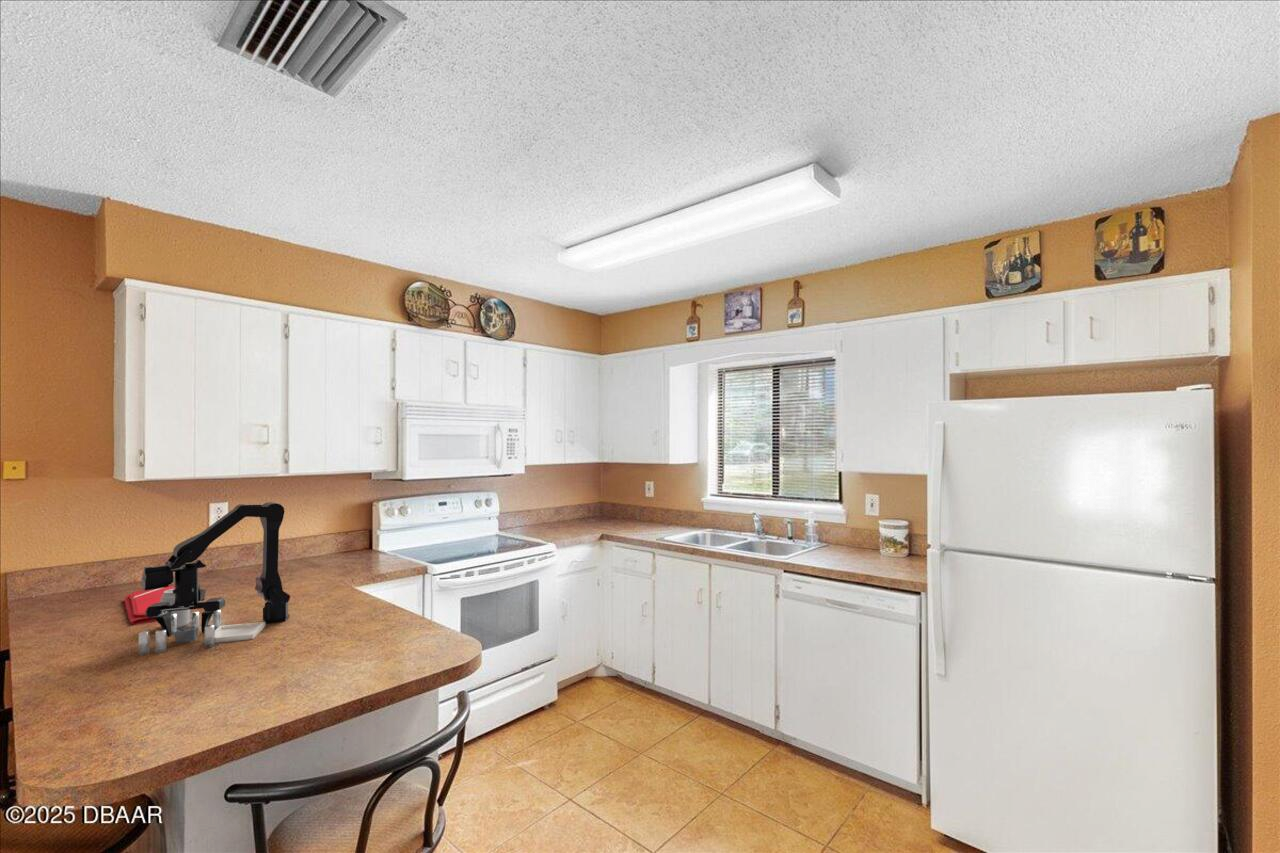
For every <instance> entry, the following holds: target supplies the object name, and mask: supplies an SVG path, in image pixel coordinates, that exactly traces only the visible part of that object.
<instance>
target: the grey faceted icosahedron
mask: <svg viewBox="0 0 1280 853" xmlns="http://www.w3.org/2000/svg"><path fill="white" fill-rule="evenodd" d="M198 638H199V631H198V626H190V625H187V626H184V627H181V628H177V630H176V631H175V634H174V643H175V644H185V643H186V644H187V643H189V642H194V641H196V640H198Z"/></svg>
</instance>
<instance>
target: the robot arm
mask: <svg viewBox="0 0 1280 853" xmlns="http://www.w3.org/2000/svg"><path fill="white" fill-rule="evenodd" d="M285 512H286V511H285V507H284V506H283V505H281V504H280V503H276V502H272V501H268V502H265V503H263V504H244V503H240V504H237V505H235V507H234V508H232V509H231V510H230V511H229V512H227V513H226V514H225V515H223V516H221V517H220V518H219V519H218V520H216V521H215V522H214V523H212V524H211V525H209V526H208V527H206V528H205V529H203V531H201V532H200V533H198V534H196V535H194V536H191V537H190V538H189V537H188V538H187V539H186V540H183V541H182V542H179V543H177V544H176V545H175V546H174V548H173V551H172V555H171V556H170V557H169V558H168V559H167V560H166V561H165V563H164V564H163V565H157V566H156V565H155V566H144V567H143V572H142V576H141V587H142V590H143V591H147V590H153V589H159V588H165V587H168V586H170V585H172V583H173V584H174V587H175V589H174V590H173V594H175V603H174V604H173V605H170V603H169V602H161V603H154V604H153V605H151V606H149V607H148V608H147V609H146V617H152V619H156V620H157V621H156V622H157V623H158V624H159V625H160V627H161V626H162V627H161V628H162V630H163V629H165V630H166V637H168V638H170V637H171V636H172V635H171V613H172V611H178V610H190V611H191V610H198V609H199V610H200V609H203V612H201V624H200V625H201V634H204V635H205V626H208V625H209V623H210V620H211V619H212V614H213V613H215V612H216V611H217V610H220V609H221V610H222V609H223V608H224V607H225V606H226V599H225V597H222V596H219V597H211V598H209V599H207V600H206V594H207V593H206V591H207V590H206V589H202V588H201V585H200V584H199V569H200V568H201V569H202V568H206V567H207V564H205V562H204V563H203V561H202V560H200V559H199V558H200V557H201V556H202V555H203V554H204V553H205V551H207V549H208V547H209V546H210V545H212V543H213V542H214V541H215V540H217V539H219V537H221V536H222V535H223V534H225V533H226V532H228V531H229V530H230V529H231V528H233V527H234V526H236V524H238V523H240V522H241V521H242V520H243V519H244V518H247V517H248V518H259V519H260V523H261V527H262V529H263V536H262V537H263V544H262V545H263V546H262V572H261V574H260V577H259V576H258V577H256V576H255V578H254V579H255V580H254V581H255V587H254V590H255V591H256V592H257V594H258V595H259V596H260V597H261V598H263V600H264V601H265V603H264V607H262V622H265V624H269V623H280V622H286V620H287V619H288V618H289V617H290V616H291V615H290V614H289V601H290V598H291V595H290V594H289V593H287V592H286V591H284V589H283V584H282V579H281V576H280V573H279V547H280V546H279V544H280V543H279V540H280V538H279V535H280V528H281V525H282V523H283V520H284V517H285ZM205 600H206V601H205ZM182 606H183V607H182ZM189 606H190V607H189ZM179 607H180V608H179Z"/></svg>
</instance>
